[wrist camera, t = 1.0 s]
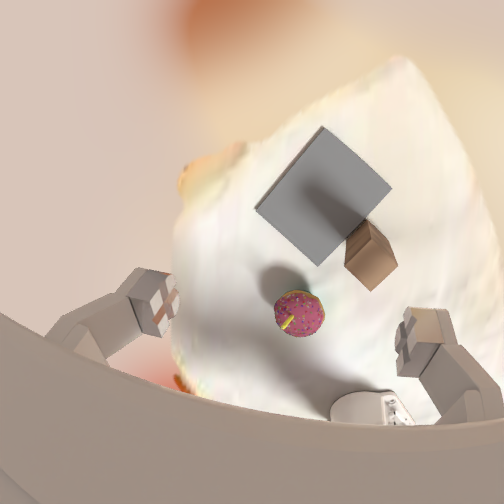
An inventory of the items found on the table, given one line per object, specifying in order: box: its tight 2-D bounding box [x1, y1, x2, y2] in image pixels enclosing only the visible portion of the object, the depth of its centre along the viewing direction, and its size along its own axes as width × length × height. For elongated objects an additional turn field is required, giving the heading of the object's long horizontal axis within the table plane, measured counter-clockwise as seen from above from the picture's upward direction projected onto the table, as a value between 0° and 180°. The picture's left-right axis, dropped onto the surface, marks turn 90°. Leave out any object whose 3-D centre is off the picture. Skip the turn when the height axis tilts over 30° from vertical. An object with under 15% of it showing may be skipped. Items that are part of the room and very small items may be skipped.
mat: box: [256, 128, 392, 267], centre depth 47 cm, size 14×18×1 cm
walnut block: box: [344, 220, 398, 292], centre depth 41 cm, size 5×5×12 cm
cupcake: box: [274, 290, 325, 337], centre depth 48 cm, size 9×8×12 cm
